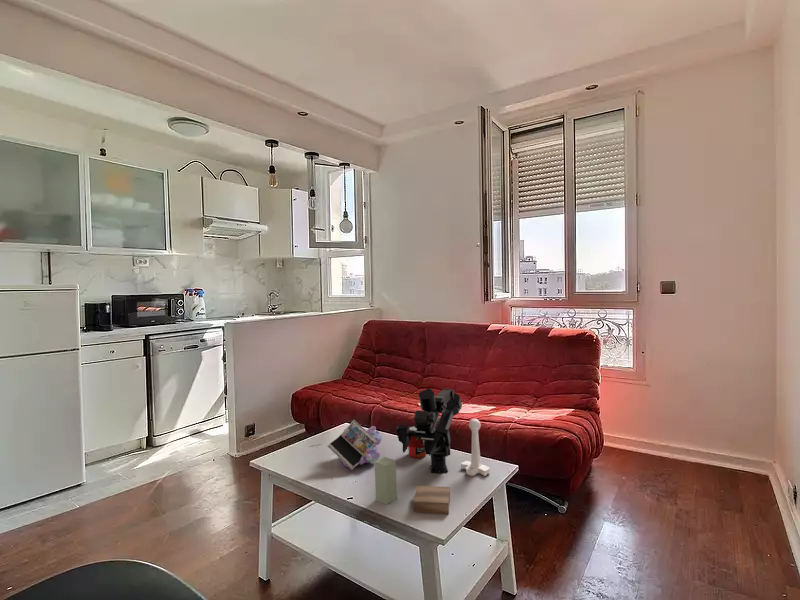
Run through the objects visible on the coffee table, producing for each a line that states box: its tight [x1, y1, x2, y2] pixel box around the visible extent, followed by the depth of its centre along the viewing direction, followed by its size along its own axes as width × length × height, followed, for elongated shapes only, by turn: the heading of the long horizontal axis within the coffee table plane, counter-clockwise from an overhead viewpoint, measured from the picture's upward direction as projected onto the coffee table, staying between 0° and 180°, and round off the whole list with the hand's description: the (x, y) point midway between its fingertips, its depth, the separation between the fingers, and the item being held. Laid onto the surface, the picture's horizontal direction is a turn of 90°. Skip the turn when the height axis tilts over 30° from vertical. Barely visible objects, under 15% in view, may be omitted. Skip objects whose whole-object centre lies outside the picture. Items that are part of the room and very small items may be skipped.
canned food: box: [407, 425, 427, 459], centre depth 180 cm, size 8×8×11 cm
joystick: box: [460, 418, 491, 477], centre depth 162 cm, size 11×8×20 cm
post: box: [374, 456, 398, 505], centre depth 143 cm, size 5×5×13 cm
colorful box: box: [326, 419, 382, 471], centre depth 176 cm, size 20×22×18 cm
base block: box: [412, 485, 451, 515], centre depth 138 cm, size 11×11×4 cm
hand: (416, 453), depth 142 cm, fingers open, 9 cm apart
